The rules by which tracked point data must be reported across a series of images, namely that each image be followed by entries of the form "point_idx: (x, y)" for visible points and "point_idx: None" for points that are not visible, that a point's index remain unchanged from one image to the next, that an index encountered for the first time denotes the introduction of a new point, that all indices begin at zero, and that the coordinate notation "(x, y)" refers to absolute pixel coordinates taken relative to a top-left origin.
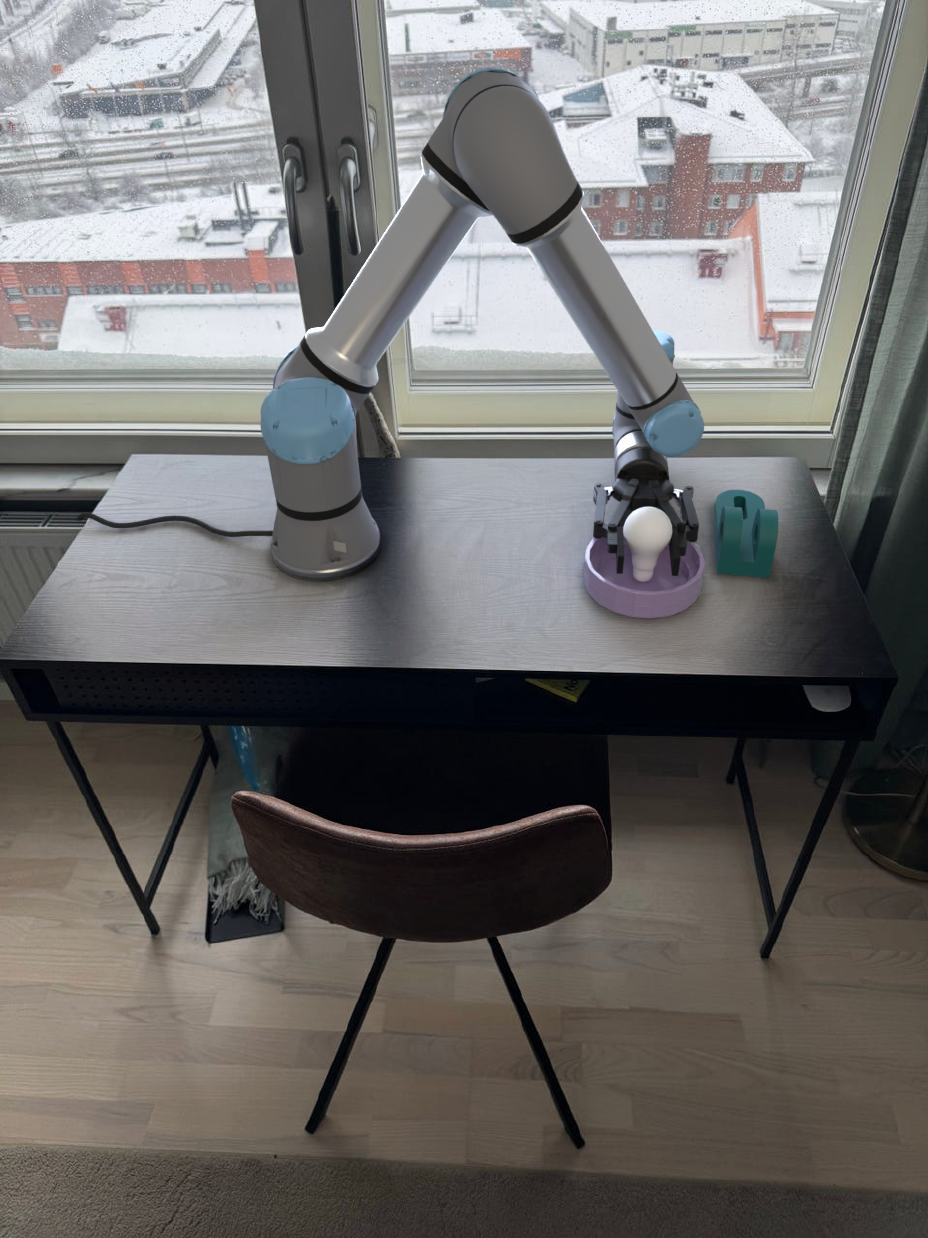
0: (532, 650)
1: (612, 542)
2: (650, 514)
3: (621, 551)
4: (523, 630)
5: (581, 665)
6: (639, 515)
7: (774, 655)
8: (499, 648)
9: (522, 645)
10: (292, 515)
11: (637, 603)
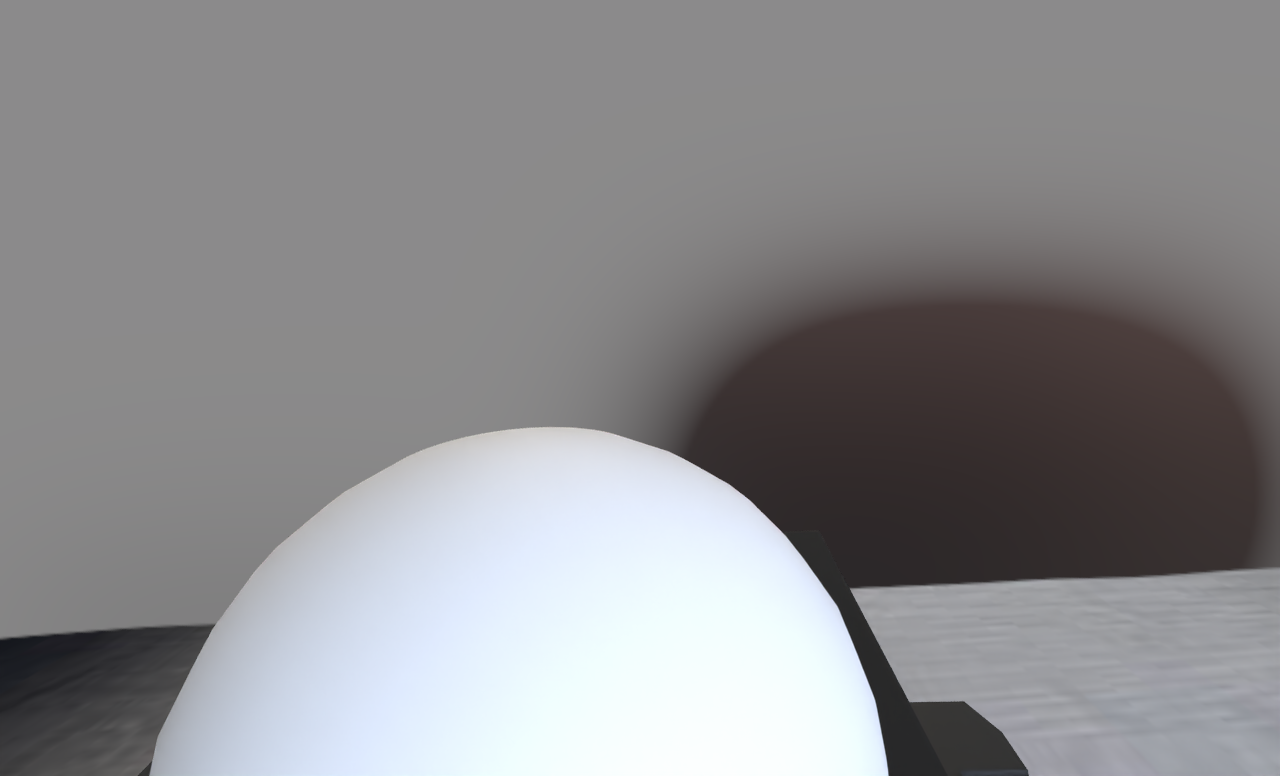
0: (1057, 630)
1: (947, 727)
2: (525, 430)
3: (806, 561)
4: (1188, 710)
5: None
6: (667, 457)
7: (175, 676)
8: (1187, 628)
9: (1115, 645)
10: None
11: None
